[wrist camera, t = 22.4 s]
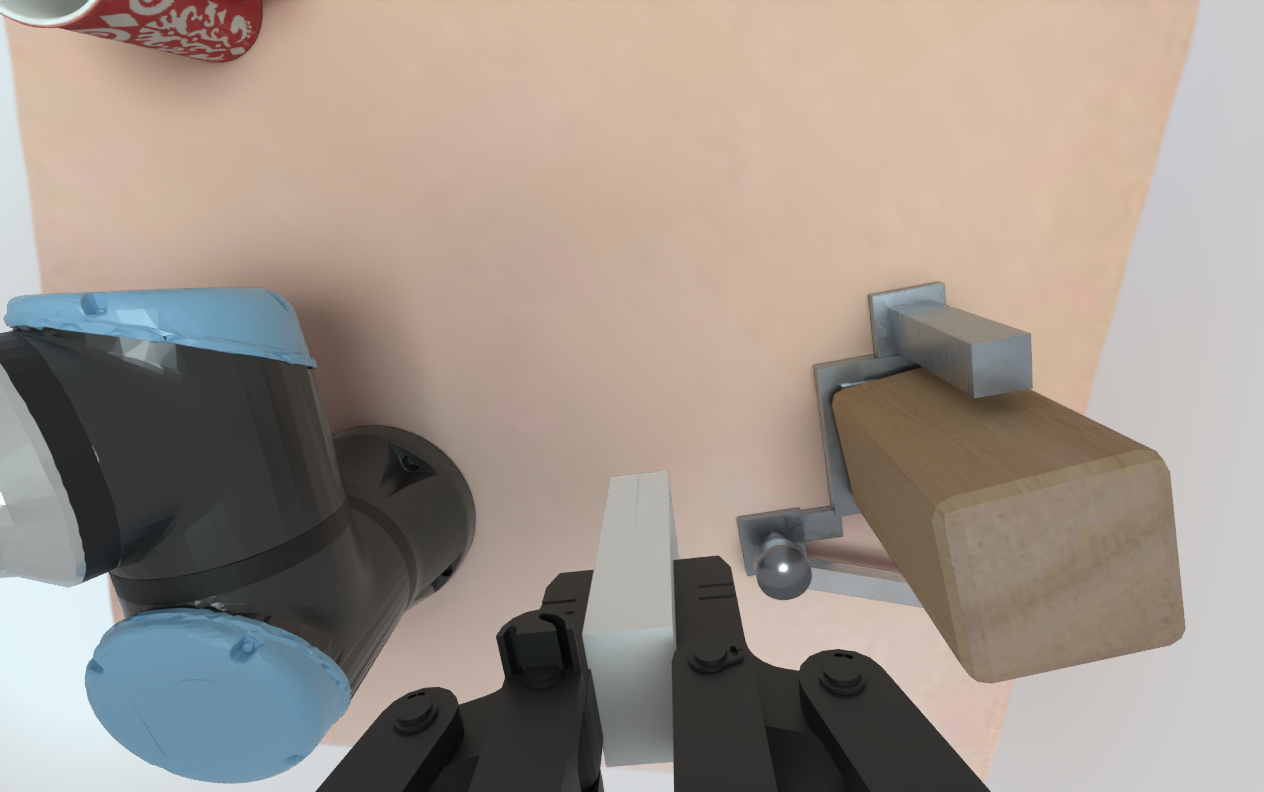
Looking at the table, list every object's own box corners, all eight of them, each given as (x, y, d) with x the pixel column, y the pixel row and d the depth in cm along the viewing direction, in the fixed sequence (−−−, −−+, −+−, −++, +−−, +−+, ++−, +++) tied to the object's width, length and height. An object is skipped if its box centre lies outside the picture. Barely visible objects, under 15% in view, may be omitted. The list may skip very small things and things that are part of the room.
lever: (962, 611, 51) (982, 637, 48) (747, 576, 51) (753, 600, 48) (978, 566, 50) (999, 590, 47) (758, 531, 50) (764, 552, 47)
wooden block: (986, 475, 49) (1199, 649, 29) (854, 509, 50) (974, 697, 31) (964, 350, 46) (1180, 451, 27) (825, 389, 47) (937, 512, 28)
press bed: (746, 570, 54) (774, 691, 40) (705, 324, 48) (721, 369, 35) (988, 535, 52) (1102, 648, 39) (974, 275, 46) (1101, 301, 33)
